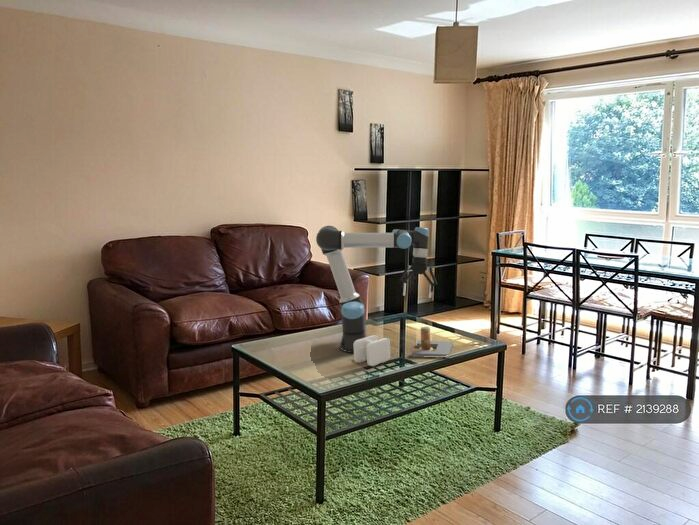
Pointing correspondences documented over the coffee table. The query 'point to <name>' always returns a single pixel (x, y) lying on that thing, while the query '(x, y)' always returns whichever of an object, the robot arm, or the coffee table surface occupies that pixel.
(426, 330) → the bobbin
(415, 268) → the robot arm
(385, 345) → the cable organizer
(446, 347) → the notched board
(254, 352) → the coffee table surface
